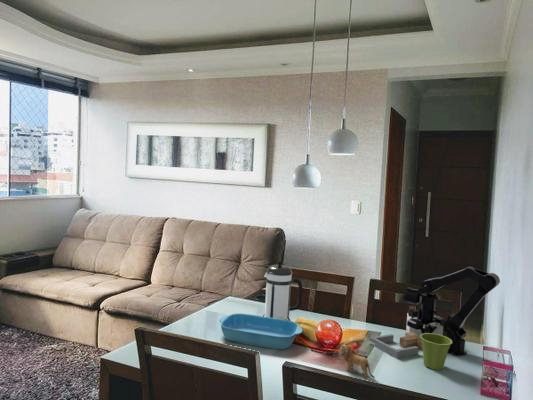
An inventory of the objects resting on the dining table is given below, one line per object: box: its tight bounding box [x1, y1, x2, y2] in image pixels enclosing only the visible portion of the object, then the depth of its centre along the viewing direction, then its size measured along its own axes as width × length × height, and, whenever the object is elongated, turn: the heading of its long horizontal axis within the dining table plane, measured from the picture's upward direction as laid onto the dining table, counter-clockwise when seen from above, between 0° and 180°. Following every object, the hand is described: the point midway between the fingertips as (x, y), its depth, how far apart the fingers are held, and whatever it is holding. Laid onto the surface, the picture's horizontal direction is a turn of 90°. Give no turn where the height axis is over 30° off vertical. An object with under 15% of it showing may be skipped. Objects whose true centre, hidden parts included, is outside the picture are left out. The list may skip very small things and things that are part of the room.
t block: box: [399, 332, 423, 351], centre depth 191 cm, size 10×10×4 cm
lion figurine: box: [338, 343, 375, 380], centre depth 161 cm, size 15×5×9 cm, turn 51°
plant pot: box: [420, 333, 452, 371], centre depth 171 cm, size 12×12×11 cm
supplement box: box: [405, 312, 444, 336], centre depth 205 cm, size 9×9×15 cm
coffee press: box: [262, 260, 303, 321], centre depth 214 cm, size 17×16×30 cm
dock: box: [368, 333, 419, 360], centre depth 186 cm, size 17×12×3 cm
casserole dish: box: [218, 312, 304, 350], centre depth 189 cm, size 37×22×7 cm, turn 76°
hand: (425, 341), depth 195 cm, fingers closed
